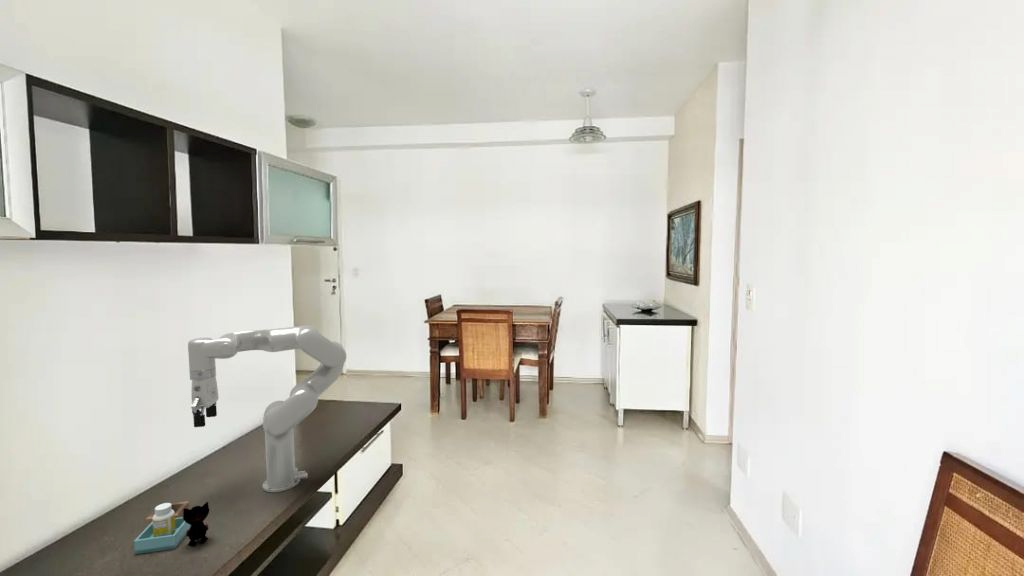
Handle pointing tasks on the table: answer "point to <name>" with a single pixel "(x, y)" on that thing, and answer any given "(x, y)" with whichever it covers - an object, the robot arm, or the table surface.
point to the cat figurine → (196, 523)
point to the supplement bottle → (163, 520)
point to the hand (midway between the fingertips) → (205, 421)
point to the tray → (160, 538)
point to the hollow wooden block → (176, 507)
